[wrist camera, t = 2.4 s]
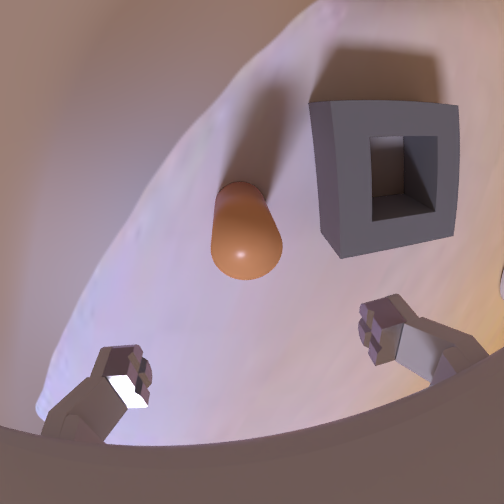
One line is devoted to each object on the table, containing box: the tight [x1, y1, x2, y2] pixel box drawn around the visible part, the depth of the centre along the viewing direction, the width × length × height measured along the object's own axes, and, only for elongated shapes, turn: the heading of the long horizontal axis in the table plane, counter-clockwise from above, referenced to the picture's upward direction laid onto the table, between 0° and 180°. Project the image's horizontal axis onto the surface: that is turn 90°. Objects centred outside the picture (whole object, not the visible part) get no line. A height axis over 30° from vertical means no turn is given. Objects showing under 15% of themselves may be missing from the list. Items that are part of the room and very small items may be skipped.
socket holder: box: [309, 100, 460, 259], centre depth 21 cm, size 11×11×5 cm
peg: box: [211, 182, 282, 280], centre depth 20 cm, size 4×4×8 cm
